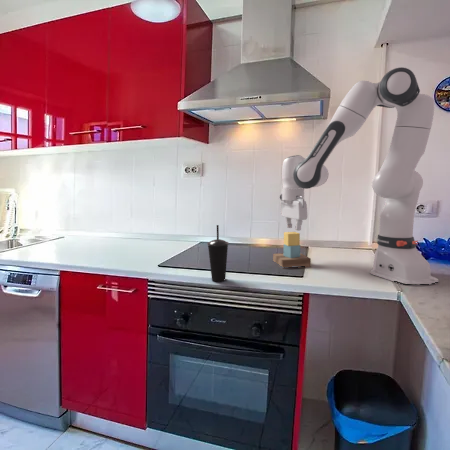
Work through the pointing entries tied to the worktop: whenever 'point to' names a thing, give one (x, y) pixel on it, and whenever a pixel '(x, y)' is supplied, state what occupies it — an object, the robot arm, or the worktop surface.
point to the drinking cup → (218, 258)
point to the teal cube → (291, 251)
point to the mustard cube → (291, 238)
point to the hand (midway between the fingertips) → (293, 229)
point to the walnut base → (291, 260)
